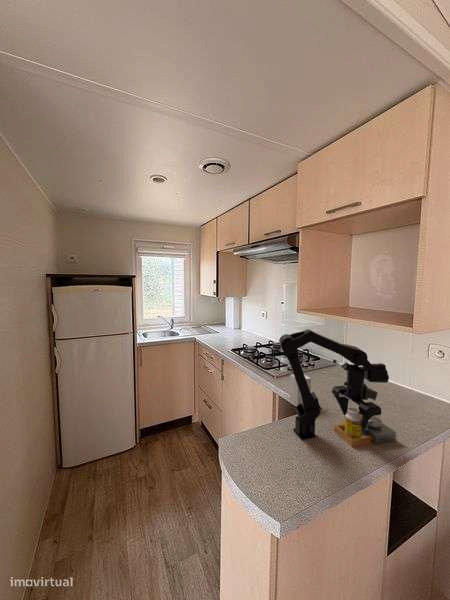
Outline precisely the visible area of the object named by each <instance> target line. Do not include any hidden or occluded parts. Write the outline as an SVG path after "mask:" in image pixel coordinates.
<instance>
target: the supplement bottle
mask: <svg viewBox="0 0 450 600" xmlns="http://www.w3.org/2000/svg"><path fill="white" fill-rule="evenodd" d="M358 412H359V409H358V408H355V407H350V408H349V407H348V410H347V413H346V415H344V417H345V419H344V420H345V421H344V423H345V431H344V432H345V433H346V434H348V435H349V436H350V437H351V438H358V437H362V434H361V429H362V428H361V424H360V419H359V414H358Z"/></svg>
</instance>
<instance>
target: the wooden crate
mask: <svg viewBox="0 0 450 600" xmlns="http://www.w3.org/2000/svg"><path fill="white" fill-rule="evenodd" d="M333 432H334V433H336V434H337V435H338V436H339V437H340V438H341V439H342V440H343V441H345V443H347V444H348V445H349V446H351V447H359V446H363V445H369V444H370V445H371V444H373V445H374V446H379V445H383V444H389V443H394V442H396V438H397V432H396V431H395V430H393V429H392V428H390V427H389V426H387V425H385V424H384V423H383V421H382V420H381V419H380V418H379V417H378V416H372V417H371V418H370V420H369V422H368V423H367V425H366V427H365V429H361V437H358V438H351V437H350V436H349V435H348V434H346V433H345V422H344V423H340V424H339V423H337V424H334V425H333Z"/></svg>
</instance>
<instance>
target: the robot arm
mask: <svg viewBox="0 0 450 600" xmlns="http://www.w3.org/2000/svg"><path fill="white" fill-rule="evenodd" d="M309 343H312V344H315V345H317V346H320V347H321V348H324V349H327V350H328V351H331V352H333V353H336V354H338V355H340V356H341V357H342V358H344V359H346V360H347V361H348V362H350V363H351V364H350V363H348V362H347V361H346V362H344V363H343V364H342V365H341V366H340V367H341V368H342V369H343V370H344V371H346V381H344V383H343V385H336V386H333V387H332V390H331V394H332V395H333V397H334V398H335V400H336V402H337V403H338V406H339V408H340V410H341V412H342V415H344V416H345V415H346V413H348V409H349V401H351V402H354V403H355V404H356V405H358V410H359V412H358V414H359V419H360V424H361V428H362V429H365V427H366V425H367V423H368V422H369V420H370V418H371V417H372V416H374V417H378V416H381V415H382V408H381V406H380V405H377V403H375V402H372V401H368V400H369V399H370V400H373V401H376V399H377V396H378V394H379V392H378V391H376V390H374V389H372V388H370V387H368V386H367V384H366V383H365V380H367V382H368V383H377V384H378V383H383V384H384V383H385V384H387V383H388V382H389V380H390V379H389V378H390V375H389V371H388V370H387V367H386V364H384V363H381V362H379V363H371V362H370V360H369V359H368V354H367V353H366V352H365V351H364V350H362V349H360V348H359V347H357V346H355V345H350V344H346V343H340V342H338V341H336V340H334V339H331V338H328V337H326V336H324V335H323V334H322V335H321V334H320V333H317V332H315V331H313V330H311V329H305V330H302V331H298V332H294V333H290V334H287V333H286V334H282V335H281V336H280V338H279V340H278V344H279V345H280V346H279V347H280V348H281V349H282V352H283V353H284V355H285V357H286V359H287V360H288V362H289V363H288V364H289V365H290V369H291V371H292V375H293V374H294V377H295V380H296V383H297V386H298V388H299V391H300V400H301V403H300V404H299V405H296V406H295V407H294V408H295V411H296V414H297V416H295V426H294V427H295V428H292V430H293V432H294V433H295V434H296V436H297V437H298V438H299V439H300V440H307V439H309V440H310V439H315V438H317V434H316V420H317V418H319V417H320V415H321V410H322V407H321V404H320V403H319V398H318V397H317V395H316V393H315V391H312V392H311V393H310V390H309V387H308V384H307V382H306V379H305V376H304V375H305V373H304V370H303V367H302V365H301V362H300V359H299V358H300V357H299V351H298V350H299V349H300V348H302V347H303V346H305V345H307V344H309ZM365 401H367V402H365Z"/></svg>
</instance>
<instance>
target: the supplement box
mask: <svg viewBox="0 0 450 600" xmlns="http://www.w3.org/2000/svg"><path fill="white" fill-rule="evenodd" d="M304 376H305V379H306V382H307V384H308V387H309V390H310V393H312V392H311V390H312V389H311V388H312V387H311V386H312V378H311V377H310V376H308V375H306V374H304ZM289 400H291V402H292V403H293V404H295V405H296V406H298V405H299V404H300V403H301V400H300V391H299V388H298V386H297V383H296V380H295V377H294V374H293V373H292V374H290V375H289Z"/></svg>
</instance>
